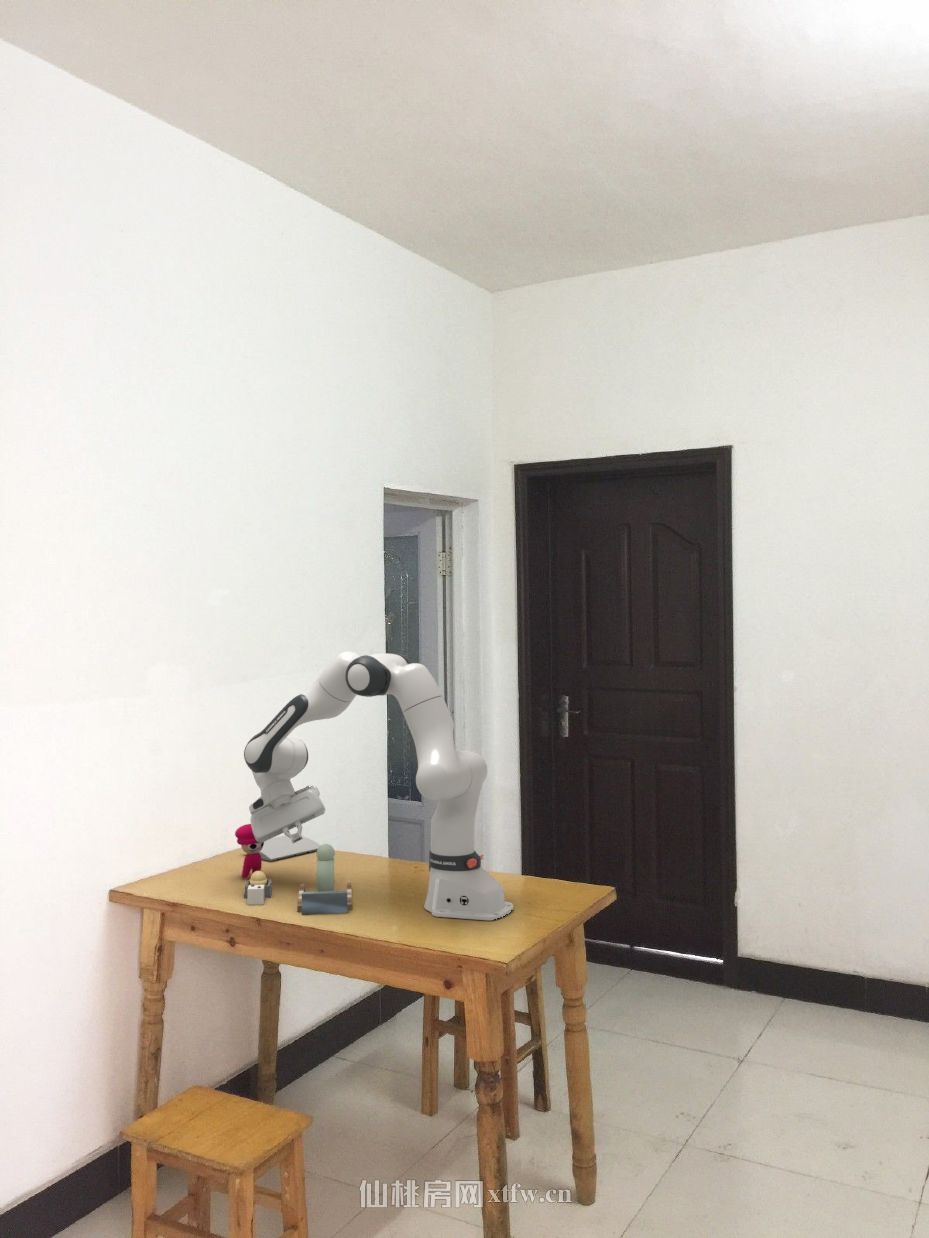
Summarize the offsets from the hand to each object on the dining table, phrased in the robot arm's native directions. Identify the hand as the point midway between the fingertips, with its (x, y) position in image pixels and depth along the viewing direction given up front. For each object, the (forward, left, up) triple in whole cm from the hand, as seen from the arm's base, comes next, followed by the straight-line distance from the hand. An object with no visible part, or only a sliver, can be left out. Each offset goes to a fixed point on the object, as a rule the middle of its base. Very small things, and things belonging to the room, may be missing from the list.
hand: (297, 840), depth 283 cm
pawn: (-9, 0, -13) cm, 16 cm away
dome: (+6, +9, -11) cm, 16 cm away
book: (+28, -33, -14) cm, 45 cm away
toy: (+19, -4, -13) cm, 23 cm away
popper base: (+6, +9, -13) cm, 17 cm away
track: (-13, +6, -13) cm, 19 cm away
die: (+2, +15, -13) cm, 20 cm away
